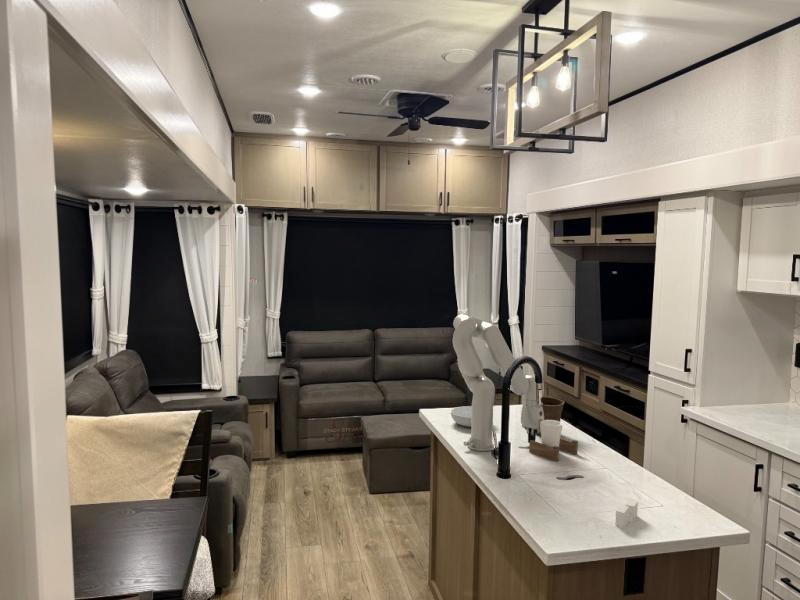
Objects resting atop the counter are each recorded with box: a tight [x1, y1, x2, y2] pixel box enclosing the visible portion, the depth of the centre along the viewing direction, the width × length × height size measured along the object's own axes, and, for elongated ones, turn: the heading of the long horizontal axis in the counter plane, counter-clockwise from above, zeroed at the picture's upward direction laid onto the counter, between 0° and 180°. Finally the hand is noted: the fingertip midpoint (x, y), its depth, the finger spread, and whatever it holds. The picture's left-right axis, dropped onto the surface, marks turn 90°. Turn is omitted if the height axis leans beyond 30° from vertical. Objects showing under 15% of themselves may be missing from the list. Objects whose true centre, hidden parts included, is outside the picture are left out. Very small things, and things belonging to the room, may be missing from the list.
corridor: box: [528, 437, 579, 463], centre depth 232 cm, size 15×14×6 cm
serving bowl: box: [450, 405, 472, 428], centre depth 273 cm, size 21×21×7 cm
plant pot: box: [536, 396, 565, 437], centre depth 259 cm, size 16×16×16 cm
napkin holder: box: [614, 499, 639, 529], centre depth 170 cm, size 15×11×6 cm
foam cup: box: [540, 420, 563, 447], centre depth 233 cm, size 10×9×13 cm
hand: (531, 442), depth 242 cm, fingers closed
